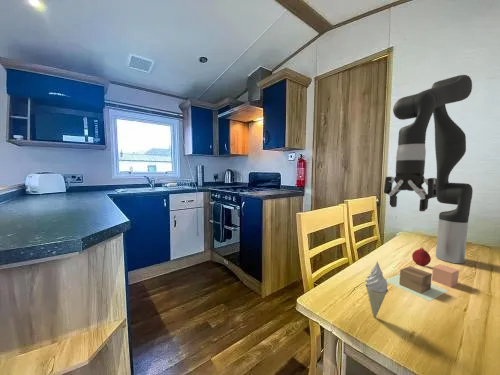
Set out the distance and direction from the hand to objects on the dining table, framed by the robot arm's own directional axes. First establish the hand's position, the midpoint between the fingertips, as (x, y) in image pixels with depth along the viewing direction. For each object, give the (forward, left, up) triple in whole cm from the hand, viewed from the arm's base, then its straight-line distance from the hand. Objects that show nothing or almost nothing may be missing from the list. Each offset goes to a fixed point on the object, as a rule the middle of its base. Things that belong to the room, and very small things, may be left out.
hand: (407, 208), depth 71 cm
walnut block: (+1, +4, -24) cm, 25 cm away
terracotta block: (-12, +7, -26) cm, 29 cm away
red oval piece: (-21, -4, -26) cm, 34 cm away
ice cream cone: (+25, +6, -26) cm, 36 cm away
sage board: (0, +4, -26) cm, 26 cm away
